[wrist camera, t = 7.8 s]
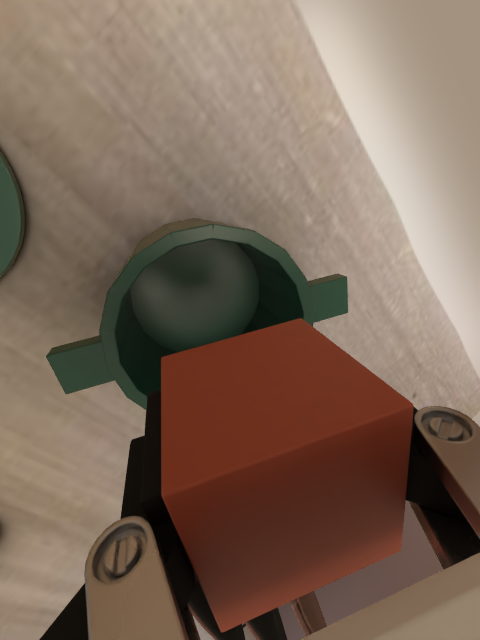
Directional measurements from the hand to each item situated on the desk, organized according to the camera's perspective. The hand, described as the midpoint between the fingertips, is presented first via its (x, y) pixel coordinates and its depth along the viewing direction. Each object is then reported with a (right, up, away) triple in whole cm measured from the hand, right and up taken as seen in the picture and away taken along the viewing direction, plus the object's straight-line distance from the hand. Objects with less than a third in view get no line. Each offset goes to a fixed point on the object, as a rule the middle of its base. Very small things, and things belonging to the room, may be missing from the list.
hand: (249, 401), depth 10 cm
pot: (-4, +5, +13) cm, 14 cm away
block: (0, 0, 0) cm, 0 cm away
